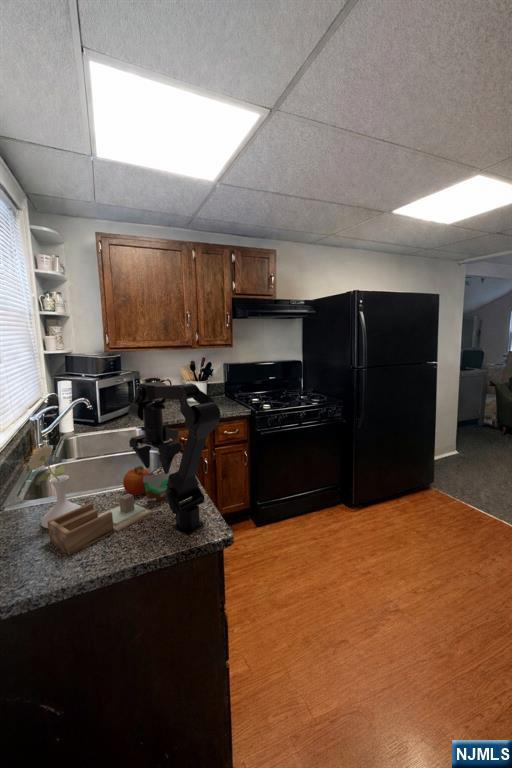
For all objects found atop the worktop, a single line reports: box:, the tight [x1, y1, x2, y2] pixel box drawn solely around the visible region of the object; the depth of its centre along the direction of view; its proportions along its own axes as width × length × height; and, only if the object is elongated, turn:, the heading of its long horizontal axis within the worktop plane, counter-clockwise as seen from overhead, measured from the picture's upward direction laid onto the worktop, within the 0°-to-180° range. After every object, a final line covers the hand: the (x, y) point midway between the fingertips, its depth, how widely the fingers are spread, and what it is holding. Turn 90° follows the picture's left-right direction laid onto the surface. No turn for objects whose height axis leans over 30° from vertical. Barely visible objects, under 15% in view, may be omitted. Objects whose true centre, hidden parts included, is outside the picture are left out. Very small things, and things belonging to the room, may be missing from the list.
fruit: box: [122, 465, 151, 496], centre depth 114 cm, size 10×10×10 cm
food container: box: [143, 463, 172, 504], centre depth 109 cm, size 12×6×10 cm, turn 166°
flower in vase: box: [27, 444, 82, 529], centre depth 94 cm, size 13×11×25 cm
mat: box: [98, 504, 153, 532], centre depth 98 cm, size 13×12×1 cm
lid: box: [101, 492, 146, 526], centre depth 98 cm, size 8×10×5 cm
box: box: [47, 502, 115, 556], centre depth 88 cm, size 11×12×6 cm
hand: (157, 470), depth 100 cm, fingers open, 9 cm apart
